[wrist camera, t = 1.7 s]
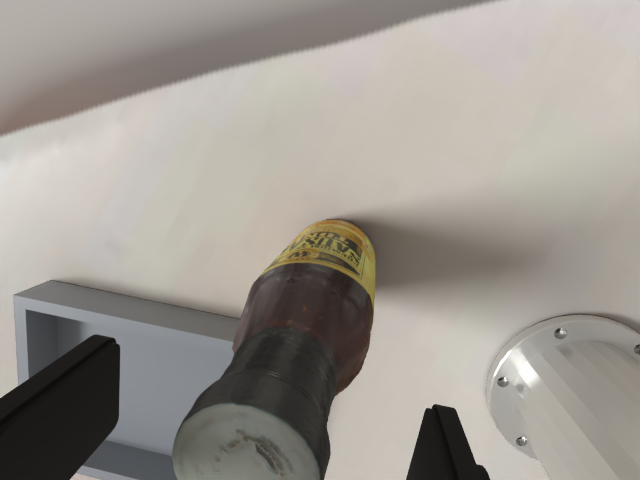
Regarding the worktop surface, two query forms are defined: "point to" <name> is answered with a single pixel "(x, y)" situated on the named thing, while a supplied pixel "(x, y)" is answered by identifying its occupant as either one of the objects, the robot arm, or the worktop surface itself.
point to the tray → (129, 365)
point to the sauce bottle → (286, 363)
